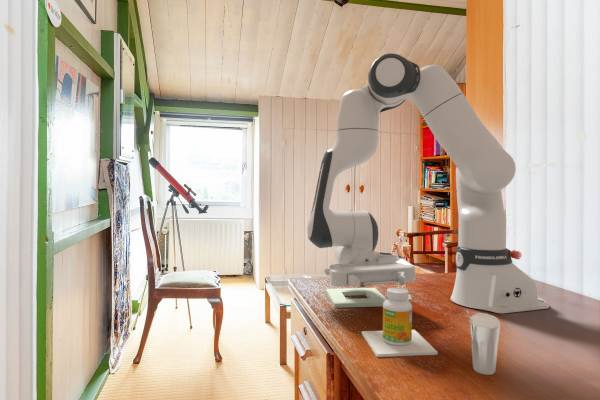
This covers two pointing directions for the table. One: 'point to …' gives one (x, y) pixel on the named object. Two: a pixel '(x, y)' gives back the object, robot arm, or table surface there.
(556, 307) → the table surface
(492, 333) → the milkshake
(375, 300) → the well board
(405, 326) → the supplement bottle
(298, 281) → the table surface
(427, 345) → the mat
